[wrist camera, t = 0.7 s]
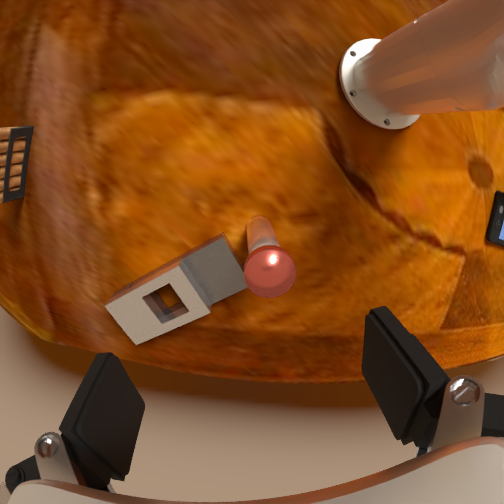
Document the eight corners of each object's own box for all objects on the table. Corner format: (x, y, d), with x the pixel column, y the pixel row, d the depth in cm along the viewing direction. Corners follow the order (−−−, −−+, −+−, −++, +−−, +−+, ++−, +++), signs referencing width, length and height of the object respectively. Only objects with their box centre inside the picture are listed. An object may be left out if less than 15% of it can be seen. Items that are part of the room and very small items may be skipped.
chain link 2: (223, 232, 34) (222, 237, 32) (250, 278, 36) (251, 285, 34) (135, 280, 35) (130, 287, 33) (163, 319, 38) (160, 327, 36)
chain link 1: (185, 253, 34) (178, 265, 31) (213, 296, 37) (210, 312, 33) (115, 291, 36) (104, 306, 32) (143, 328, 38) (136, 344, 34)
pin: (266, 205, 33) (282, 241, 20) (280, 234, 34) (304, 283, 22) (236, 221, 33) (234, 265, 21) (251, 248, 34) (258, 305, 22)
